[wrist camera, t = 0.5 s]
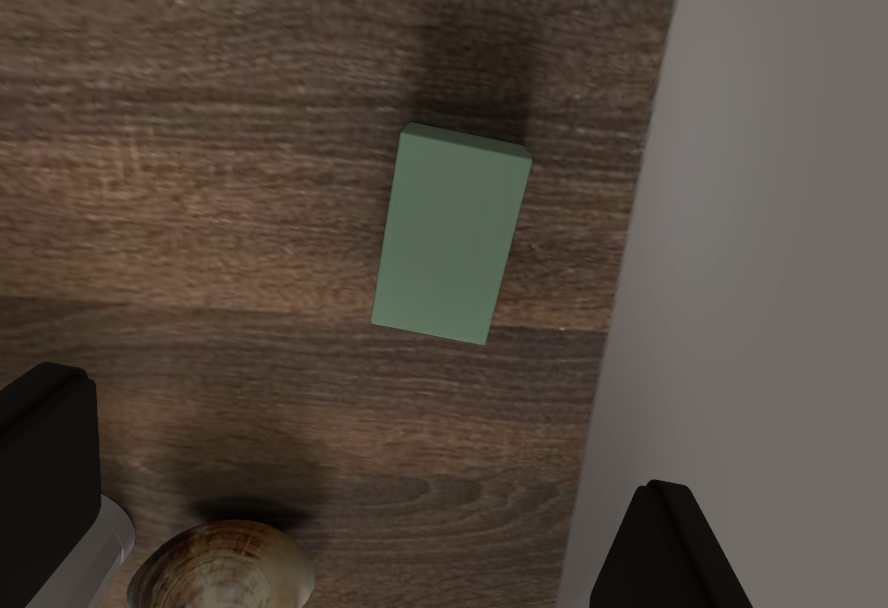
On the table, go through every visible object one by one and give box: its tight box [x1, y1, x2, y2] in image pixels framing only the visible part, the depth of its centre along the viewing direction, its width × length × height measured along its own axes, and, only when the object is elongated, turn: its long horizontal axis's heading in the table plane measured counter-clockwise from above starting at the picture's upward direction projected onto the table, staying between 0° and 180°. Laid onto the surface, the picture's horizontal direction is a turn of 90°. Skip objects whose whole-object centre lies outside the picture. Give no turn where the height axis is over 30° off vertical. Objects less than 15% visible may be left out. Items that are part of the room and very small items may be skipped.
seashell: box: [127, 519, 316, 608], centre depth 30 cm, size 10×6×8 cm, turn 88°
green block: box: [371, 122, 532, 345], centre depth 24 cm, size 8×5×4 cm, turn 169°
